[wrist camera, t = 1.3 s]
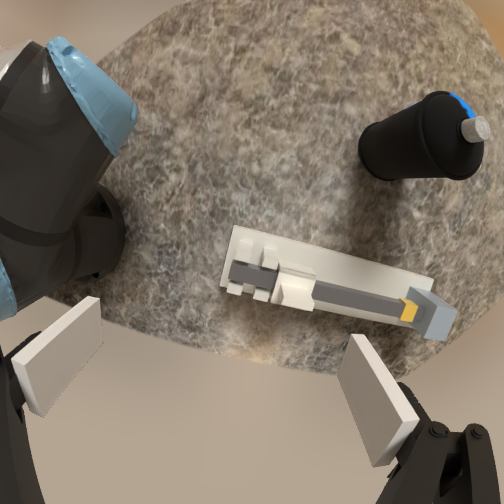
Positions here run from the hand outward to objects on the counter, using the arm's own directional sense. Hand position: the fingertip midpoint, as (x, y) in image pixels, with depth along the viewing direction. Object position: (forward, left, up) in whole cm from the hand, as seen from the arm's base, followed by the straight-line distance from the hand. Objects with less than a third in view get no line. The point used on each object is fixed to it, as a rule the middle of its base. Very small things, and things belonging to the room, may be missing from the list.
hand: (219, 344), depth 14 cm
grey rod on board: (+13, -1, -24) cm, 28 cm away
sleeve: (+6, -1, -20) cm, 21 cm away
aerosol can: (+15, +18, -25) cm, 34 cm away
